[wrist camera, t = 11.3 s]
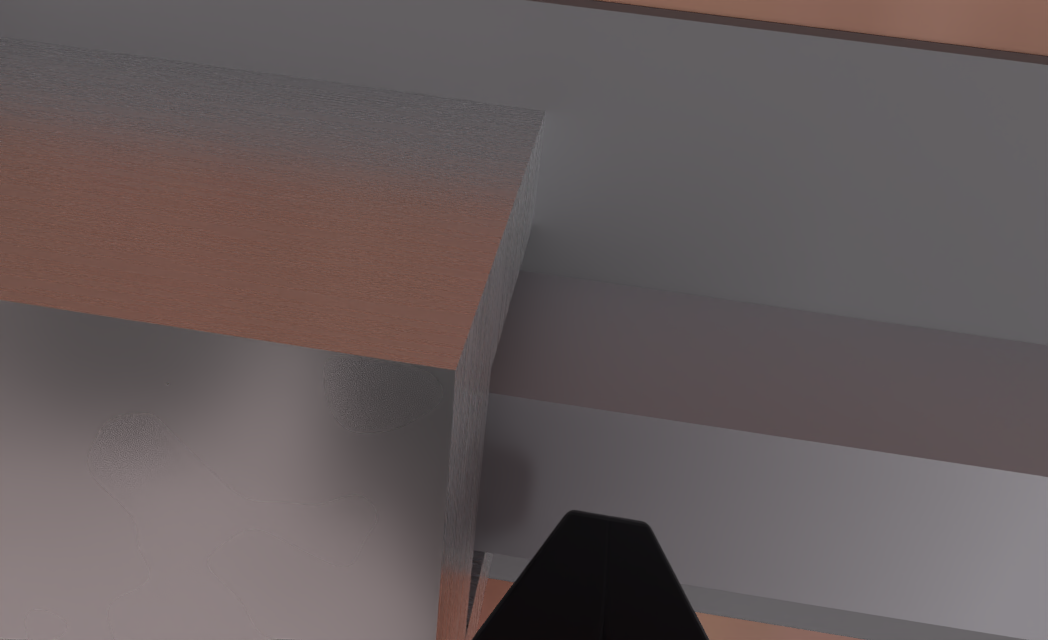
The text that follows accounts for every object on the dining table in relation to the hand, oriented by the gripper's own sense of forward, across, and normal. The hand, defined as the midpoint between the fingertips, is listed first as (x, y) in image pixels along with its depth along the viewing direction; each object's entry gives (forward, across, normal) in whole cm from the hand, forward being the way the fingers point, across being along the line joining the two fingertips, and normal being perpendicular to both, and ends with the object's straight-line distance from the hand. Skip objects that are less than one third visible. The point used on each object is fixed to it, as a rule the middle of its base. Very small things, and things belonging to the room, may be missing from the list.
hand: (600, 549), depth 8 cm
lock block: (+3, +5, 0) cm, 6 cm away
